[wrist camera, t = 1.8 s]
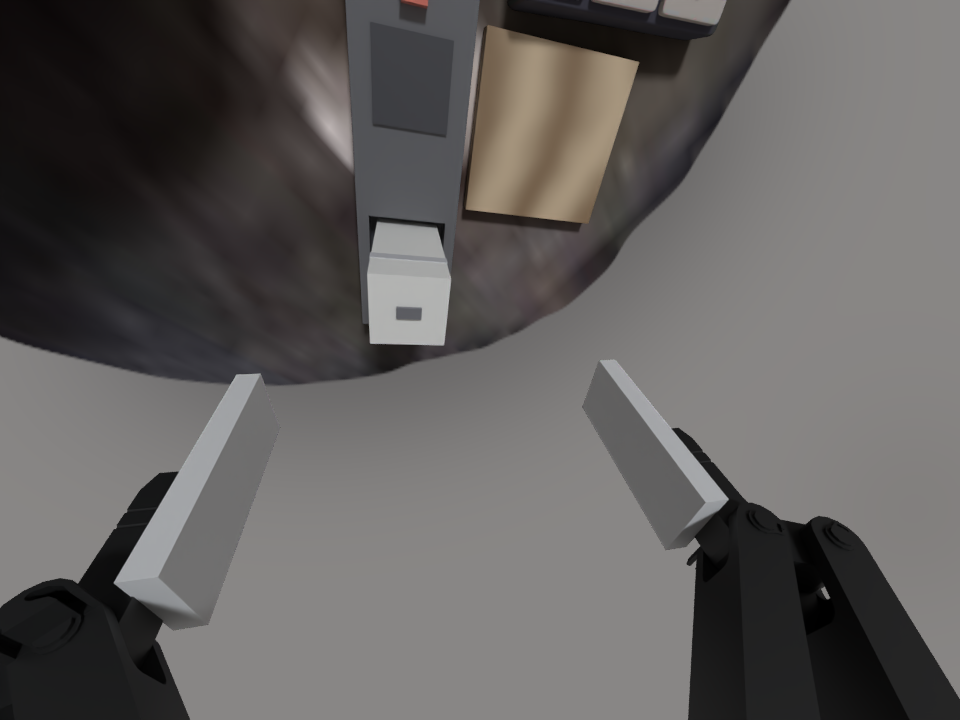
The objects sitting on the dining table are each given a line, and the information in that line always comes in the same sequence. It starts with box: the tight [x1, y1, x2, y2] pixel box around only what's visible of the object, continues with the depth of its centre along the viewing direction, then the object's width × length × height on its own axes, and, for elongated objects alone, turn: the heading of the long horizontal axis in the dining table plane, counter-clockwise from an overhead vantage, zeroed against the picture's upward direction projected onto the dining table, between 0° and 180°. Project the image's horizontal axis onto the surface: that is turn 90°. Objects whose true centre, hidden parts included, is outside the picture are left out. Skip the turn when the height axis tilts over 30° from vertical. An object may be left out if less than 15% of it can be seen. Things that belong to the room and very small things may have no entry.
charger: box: [367, 218, 451, 345], centre depth 27 cm, size 5×5×12 cm
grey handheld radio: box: [345, 0, 480, 324], centre depth 26 cm, size 32×8×4 cm, turn 171°
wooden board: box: [464, 25, 639, 224], centre depth 29 cm, size 12×12×1 cm
